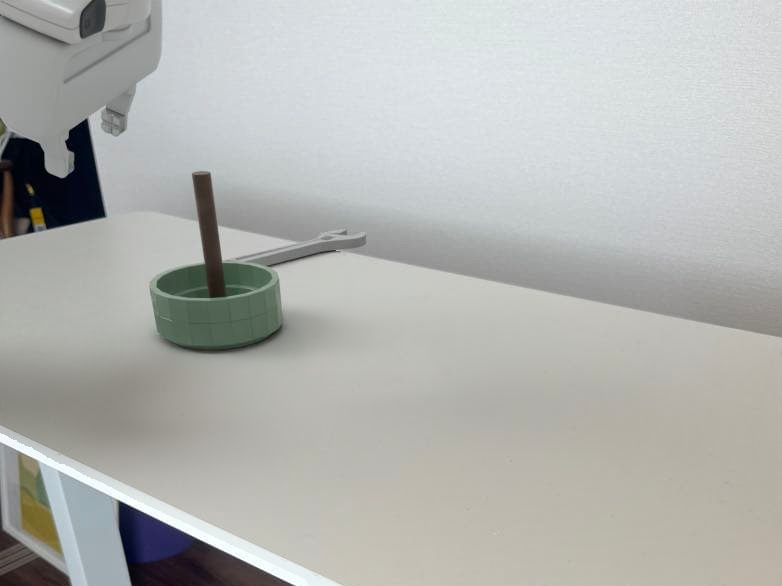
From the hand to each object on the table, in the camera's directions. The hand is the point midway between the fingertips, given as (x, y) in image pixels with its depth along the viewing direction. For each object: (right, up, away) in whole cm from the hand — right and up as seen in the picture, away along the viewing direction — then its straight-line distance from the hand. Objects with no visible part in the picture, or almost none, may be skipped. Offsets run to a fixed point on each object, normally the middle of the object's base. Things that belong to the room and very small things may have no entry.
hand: (88, 151), depth 71 cm
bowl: (+6, -9, +26) cm, 28 cm away
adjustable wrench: (+11, +9, +52) cm, 54 cm away
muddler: (+6, -8, +26) cm, 28 cm away
